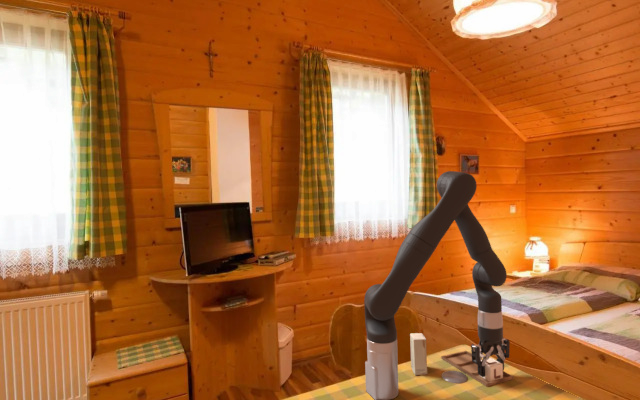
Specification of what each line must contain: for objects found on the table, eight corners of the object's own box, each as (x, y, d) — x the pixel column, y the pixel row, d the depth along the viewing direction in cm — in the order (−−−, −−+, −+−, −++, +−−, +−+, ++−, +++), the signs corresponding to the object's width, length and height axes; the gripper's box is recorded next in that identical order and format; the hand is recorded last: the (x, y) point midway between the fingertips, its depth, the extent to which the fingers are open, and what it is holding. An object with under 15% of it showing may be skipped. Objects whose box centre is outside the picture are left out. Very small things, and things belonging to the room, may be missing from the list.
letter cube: (491, 382, 125) (490, 366, 125) (479, 375, 130) (479, 360, 130) (503, 379, 127) (502, 363, 127) (491, 372, 132) (490, 357, 132)
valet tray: (486, 387, 123) (486, 383, 123) (441, 359, 144) (441, 356, 144) (513, 380, 127) (513, 376, 127) (465, 353, 148) (465, 350, 148)
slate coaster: (452, 386, 125) (452, 384, 125) (436, 375, 132) (436, 373, 132) (472, 381, 128) (472, 379, 127) (455, 370, 135) (455, 368, 135)
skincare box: (427, 375, 132) (426, 339, 132) (414, 375, 132) (413, 340, 132) (423, 366, 139) (422, 332, 138) (410, 366, 139) (409, 332, 138)
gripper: (481, 331, 122) (482, 383, 123) (516, 323, 127) (517, 373, 128) (464, 323, 129) (465, 373, 130) (498, 316, 134) (499, 364, 135)
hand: (491, 373), depth 129 cm, fingers open, 7 cm apart
